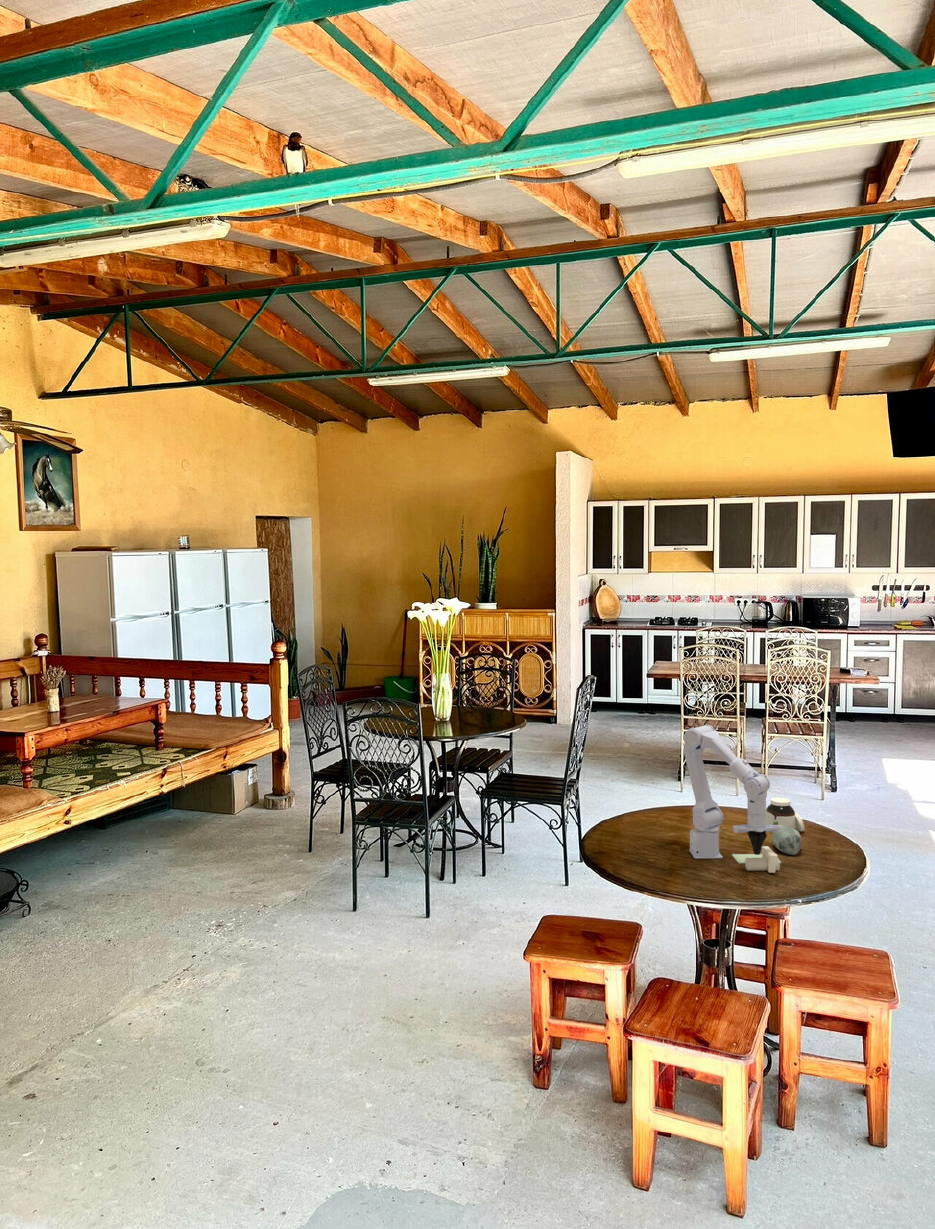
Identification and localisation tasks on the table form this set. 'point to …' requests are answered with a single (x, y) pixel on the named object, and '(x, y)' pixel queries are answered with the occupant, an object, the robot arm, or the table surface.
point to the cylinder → (759, 864)
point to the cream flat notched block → (769, 858)
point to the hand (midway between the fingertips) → (756, 853)
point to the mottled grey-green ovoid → (787, 840)
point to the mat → (741, 857)
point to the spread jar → (783, 814)
